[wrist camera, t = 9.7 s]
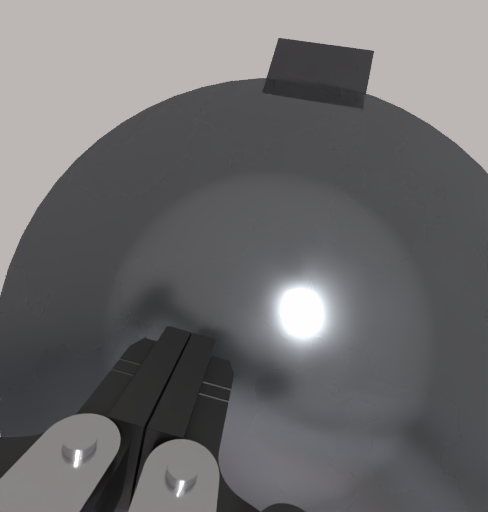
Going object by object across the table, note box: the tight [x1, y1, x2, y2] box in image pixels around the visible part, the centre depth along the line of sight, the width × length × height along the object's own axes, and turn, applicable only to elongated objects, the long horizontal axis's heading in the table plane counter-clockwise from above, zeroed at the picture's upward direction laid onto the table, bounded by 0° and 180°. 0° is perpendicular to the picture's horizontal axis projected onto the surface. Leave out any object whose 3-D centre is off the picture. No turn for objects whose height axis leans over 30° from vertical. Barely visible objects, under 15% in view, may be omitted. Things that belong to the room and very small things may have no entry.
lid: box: [0, 38, 488, 512], centre depth 11 cm, size 20×18×1 cm
